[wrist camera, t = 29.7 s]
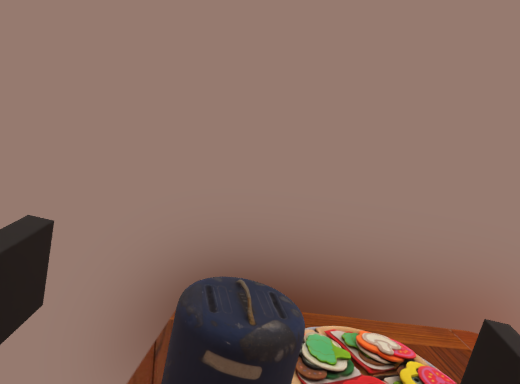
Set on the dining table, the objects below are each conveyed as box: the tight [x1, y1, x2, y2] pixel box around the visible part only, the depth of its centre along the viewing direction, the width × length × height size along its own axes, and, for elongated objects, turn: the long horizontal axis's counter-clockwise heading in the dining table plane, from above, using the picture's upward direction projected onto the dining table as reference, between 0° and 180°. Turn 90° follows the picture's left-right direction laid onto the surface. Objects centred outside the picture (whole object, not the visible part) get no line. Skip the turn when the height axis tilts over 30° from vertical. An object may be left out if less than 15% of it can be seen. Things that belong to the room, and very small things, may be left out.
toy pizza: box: [291, 326, 456, 384], centre depth 61 cm, size 28×28×4 cm
